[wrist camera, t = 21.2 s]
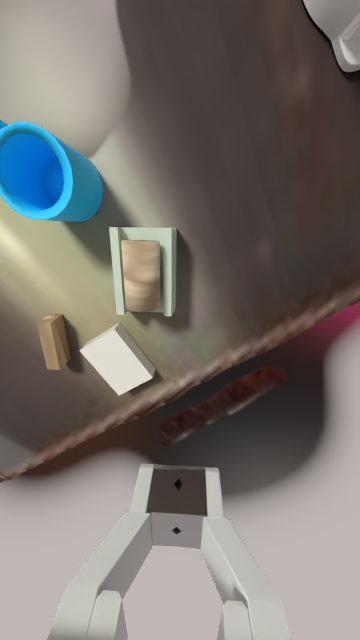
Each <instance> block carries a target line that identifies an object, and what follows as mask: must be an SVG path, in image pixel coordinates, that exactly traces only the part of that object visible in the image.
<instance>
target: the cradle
mask: <svg viewBox="0 0 360 640" xmlns="http://www.w3.org/2000/svg"><path fill="white" fill-rule="evenodd" d="M109 233H110V244H111V255H112V266H113V277H114V288H115V298H116V309H117V315H125V313H126V312H127V311H130V310H128V309H126V303H125V289H124V275H123V261H122V247H121V241H123V240H153V241H159V246H160V308H159V309H157V310H154V311H149V312H164V316H172V313H175V308H176V248H177V228H136V227H109Z"/></svg>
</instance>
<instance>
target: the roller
mask: <svg viewBox="0 0 360 640" xmlns="http://www.w3.org/2000/svg"><path fill="white" fill-rule="evenodd" d="M121 247H122V261H123V275H124V289H125V303H126V309H128V310H130V311H134V312H149V311H154V310H157V309H159V308H160V246H159V241H153V240H123V241H121Z"/></svg>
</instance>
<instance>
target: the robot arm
mask: <svg viewBox="0 0 360 640" xmlns="http://www.w3.org/2000/svg"><path fill="white" fill-rule="evenodd" d="M303 1H304V4H305V6H306V8H307V11H308V12H309V14H310V16H311V17H312V19H313V21H314V22H315V23H316V24H317V26H318V27H319V28H320V29H321V30H322V31H323V32H324V33H325V34H326V35H327V36H328V38H329V39H330V41H331V42H332V46H333V49H334V52H335V56H336V59H337V61H338V64H339V66H340V67H341V69H342V70H343V71H345V72H353V71H357V70H360V0H303ZM152 545H160V546H161V545H162V546H179V547H189V548H199V549H201V553H202V555H203V557H204V560H205V562H206V564H207V567H208V569H209V571H210V573H211V576H212V578H213V581H214V583H215V585H216V587H217V590H218V592H219V594H220V596H221V599H222V601H223V604H224V607H223V611H222V615H221V621H220V626H219V632H218V637H217V640H291V638H290V633H289V629H288V625H287V621H286V617H285V613H284V608H283V604H282V602H281V601H280V599H279V597H278V596H277V594H276V593H275V591H274V589H273V588H272V586H271V585H270V583H269V582H268V580H267V579H266V577H265V575H264V574H263V572H262V571H261V569H260V567H259V566H258V564H257V563H256V561H255V559H254V558H253V556H252V555H251V553H250V552H249V550H248V548H247V547H246V546H245V544H244V542H243V540H242V539H241V537H240V536H239V534H238V533H237V531H236V529H235V528H234V527H233V525H232V523H231V522H230V520H229V519H228V518H224V510H223V501H222V492H221V483H220V474H219V470H218V468H207V467H205V468H204V467H196V466H195V467H194V466H169V465H156V464H141V466H140V469H139V473H138V478H137V482H136V487H135V491H134V496H133V500H132V504H131V509H130V512H127V511H126V512H125V513H124V514H123V516H122V517H121V518H120V519H119V521H118V522H117V523H116V524H115V526H114V527H113V528H112V529H111V531H110V532H109V533H108V534H107V536H106V537H105V538H104V539H103V541H102V542H101V543H100V544H99V545H98V547H97V548H96V549H95V550H94V552H93V553H92V554H91V555H90V557H89V558H88V559H87V560H86V562H85V563H84V564H83V565H82V566H81V568H80V569H79V570H78V572H77V573H76V574H75V575H74V577H73V578H72V579H71V580H70V581H69V583H68V584H67V586H66V589H65V591H64V594H63V597H62V600H61V602H60V605H59V608H58V611H57V614H56V616H55V619H54V622H53V625H52V628H51V630H50V633H49V636H48V639H47V640H127V637H128V636H127V630H126V623H125V617H124V610H123V604H122V599H123V597H124V596H125V594H126V592H127V590H128V589H129V587H130V585H131V584H132V582H133V580H134V578H135V577H136V575H137V573H138V571H139V569H140V568H141V566H142V564H143V562H144V561H145V558H146V557H147V555H148V554H149V552H150V550H151V548H152Z"/></svg>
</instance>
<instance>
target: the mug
mask: <svg viewBox="0 0 360 640" xmlns="http://www.w3.org/2000/svg"><path fill="white" fill-rule="evenodd" d="M0 196H1V197H2V198H3V199H4V200H5V201H6V203H7V204H8V205H9V206H10V207H11V208H12V209H14V210H15V211H17V212H18V213H19V214H21V215H23V216H26V217H28V218H31V219H34V220H51V221H69V222H82V221H85V220H88V219H90V218H91V217H92V216H94V215H95V214H96V213H97V211H98V210H99V208H100V206H101V204H102V198H103V185H102V180H101V178H100V175H99V172H98V171H97V169H96V168H95V166H94V165H93V164H92V162H91V161H90V160H89V159H87V158H86V157H85V156H83V155H82V154H81V153H79V152H78V151H76V150H75V149H73V148H72V147H70V146H69V145H67V144H66V143H64V142H63V141H61V140H60V139H58V138H57V137H55V136H54V135H52V134H51V133H49V132H48V131H46V130H45V129H43V128H42V127H39V126H36V125H34V124H31V123H28V122H14V123H12V124H10V125H7V124H6V123H4V122H3V121H1V120H0Z"/></svg>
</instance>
